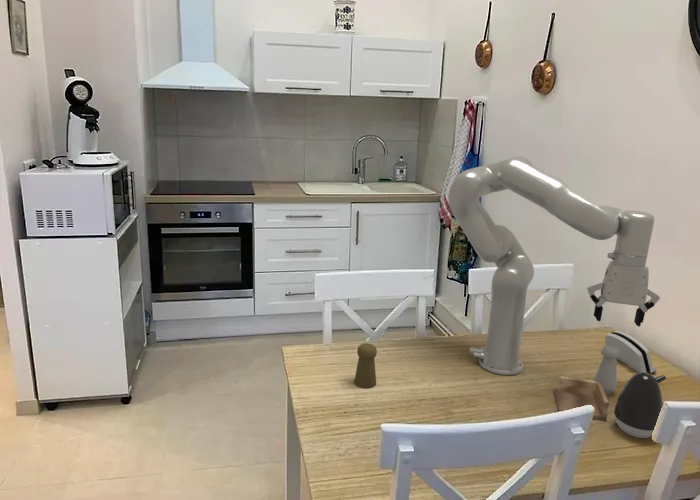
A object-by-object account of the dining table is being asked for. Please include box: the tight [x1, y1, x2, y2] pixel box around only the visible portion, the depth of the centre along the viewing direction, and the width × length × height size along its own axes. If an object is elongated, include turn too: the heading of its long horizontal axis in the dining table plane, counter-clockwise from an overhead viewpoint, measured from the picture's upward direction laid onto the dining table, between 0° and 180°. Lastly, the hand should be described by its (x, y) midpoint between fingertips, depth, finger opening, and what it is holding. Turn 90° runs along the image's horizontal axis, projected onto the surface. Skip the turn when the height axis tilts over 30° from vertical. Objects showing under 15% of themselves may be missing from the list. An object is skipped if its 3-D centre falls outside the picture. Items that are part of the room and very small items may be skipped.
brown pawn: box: [353, 342, 378, 390], centre depth 145 cm, size 6×6×11 cm
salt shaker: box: [592, 345, 620, 396], centre depth 146 cm, size 6×6×13 cm
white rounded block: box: [604, 330, 658, 375], centre depth 165 cm, size 17×5×10 cm, turn 13°
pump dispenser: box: [613, 372, 667, 439], centre depth 127 cm, size 10×10×15 cm
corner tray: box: [553, 375, 610, 422], centre depth 139 cm, size 11×11×5 cm
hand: (617, 321), depth 143 cm, fingers open, 9 cm apart
